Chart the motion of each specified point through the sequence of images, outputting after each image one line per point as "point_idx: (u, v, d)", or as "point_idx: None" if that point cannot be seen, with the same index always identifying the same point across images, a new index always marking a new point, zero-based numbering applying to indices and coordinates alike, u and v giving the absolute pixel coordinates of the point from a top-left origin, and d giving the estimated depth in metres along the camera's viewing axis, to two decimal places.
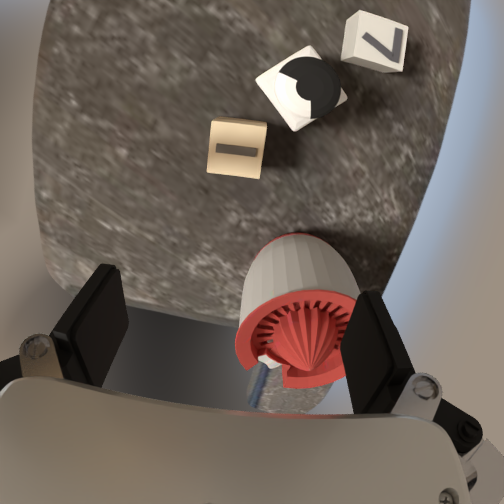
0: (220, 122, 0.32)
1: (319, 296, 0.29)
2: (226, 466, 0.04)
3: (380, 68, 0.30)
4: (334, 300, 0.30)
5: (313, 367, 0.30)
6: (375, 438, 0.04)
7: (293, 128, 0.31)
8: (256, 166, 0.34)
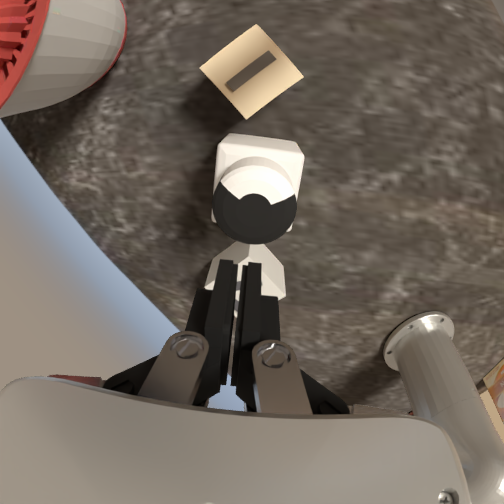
0: (293, 82, 0.22)
1: (14, 73, 0.12)
2: (226, 466, 0.04)
3: None
4: (2, 89, 0.13)
5: None
6: (376, 438, 0.04)
7: (222, 146, 0.24)
8: (215, 75, 0.22)
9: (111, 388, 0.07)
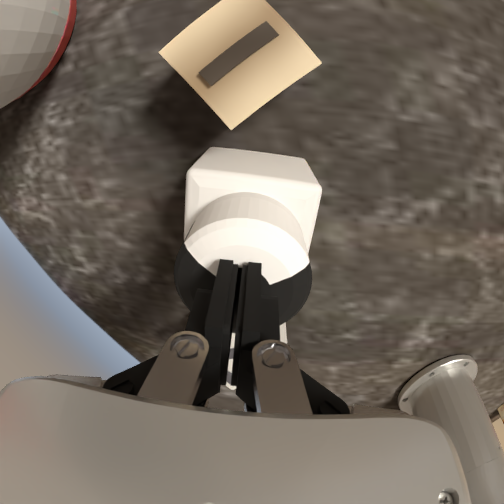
0: (306, 71, 0.14)
1: None
2: (226, 466, 0.04)
3: None
4: None
5: None
6: (375, 438, 0.04)
7: (194, 173, 0.15)
8: (181, 63, 0.14)
9: (111, 388, 0.07)
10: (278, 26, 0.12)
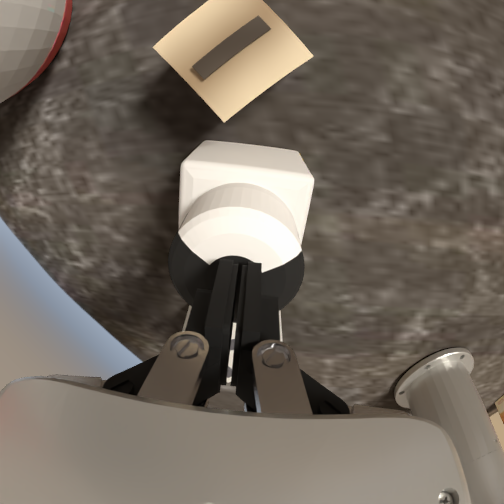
0: (298, 64, 0.14)
1: None
2: (226, 466, 0.04)
3: None
4: None
5: None
6: (375, 438, 0.04)
7: (188, 165, 0.15)
8: (175, 57, 0.14)
9: (111, 388, 0.07)
10: (270, 20, 0.13)
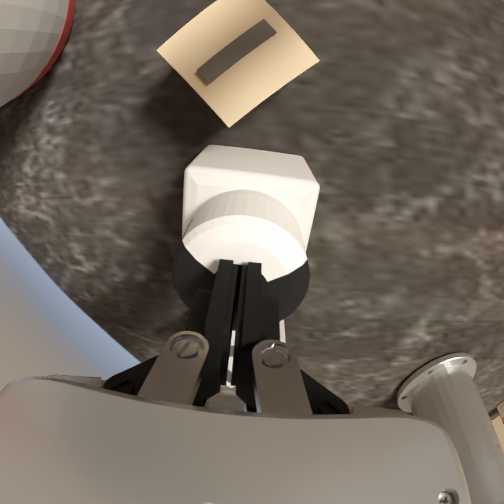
0: (303, 69, 0.14)
1: None
2: (226, 466, 0.04)
3: None
4: None
5: None
6: (375, 438, 0.04)
7: (192, 171, 0.15)
8: (179, 60, 0.14)
9: (111, 388, 0.07)
10: (276, 24, 0.12)
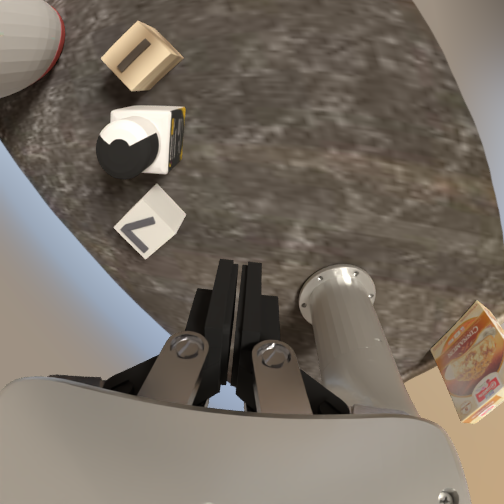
0: (163, 58, 0.27)
1: None
2: (226, 466, 0.04)
3: (129, 210, 0.39)
4: None
5: None
6: (375, 438, 0.04)
7: (113, 112, 0.29)
8: (110, 62, 0.27)
9: (111, 388, 0.07)
10: (151, 39, 0.26)
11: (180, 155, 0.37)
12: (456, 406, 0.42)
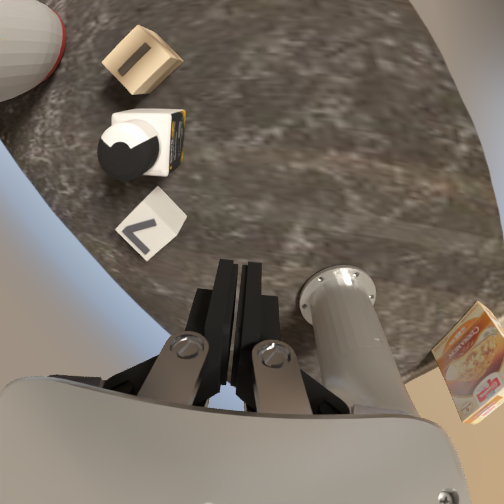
0: (163, 62, 0.28)
1: None
2: (226, 466, 0.04)
3: None
4: None
5: None
6: (375, 438, 0.04)
7: (114, 115, 0.29)
8: (111, 66, 0.27)
9: (111, 388, 0.07)
10: (151, 43, 0.26)
11: (181, 157, 0.38)
12: (457, 406, 0.42)
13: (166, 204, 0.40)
